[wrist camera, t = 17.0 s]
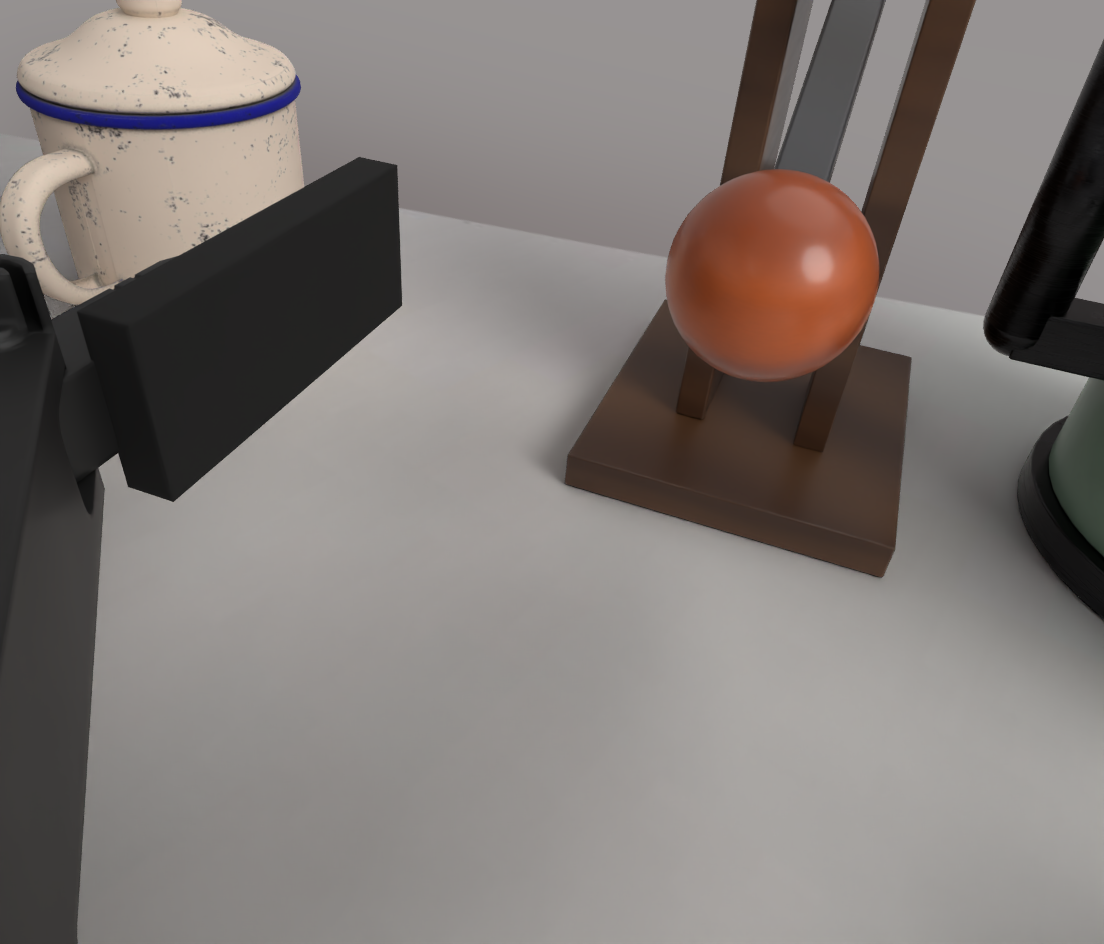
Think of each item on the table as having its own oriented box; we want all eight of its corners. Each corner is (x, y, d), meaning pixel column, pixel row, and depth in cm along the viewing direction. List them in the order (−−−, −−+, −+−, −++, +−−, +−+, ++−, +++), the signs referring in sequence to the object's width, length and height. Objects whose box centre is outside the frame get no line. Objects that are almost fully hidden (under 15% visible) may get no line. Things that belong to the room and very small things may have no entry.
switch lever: (829, 440, 17) (877, 325, 14) (639, 390, 18) (637, 270, 15) (961, -51, 23) (1020, -224, 19) (811, -70, 24) (839, -238, 20)
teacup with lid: (193, 238, 40) (136, -55, 33) (363, 285, 37) (343, -20, 30) (-40, 356, 31) (-188, -13, 24) (166, 426, 28) (70, 41, 21)
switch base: (882, 578, 25) (1216, -178, 14) (563, 484, 28) (640, -229, 17) (902, 382, 34) (1116, -175, 23) (660, 324, 37) (751, -208, 26)
